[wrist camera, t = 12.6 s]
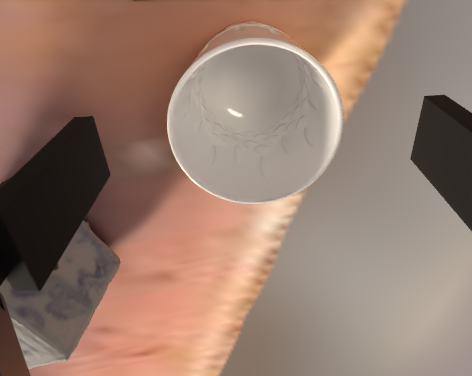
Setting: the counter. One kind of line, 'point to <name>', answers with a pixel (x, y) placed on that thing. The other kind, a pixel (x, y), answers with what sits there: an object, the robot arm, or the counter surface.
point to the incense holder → (62, 300)
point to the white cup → (254, 116)
